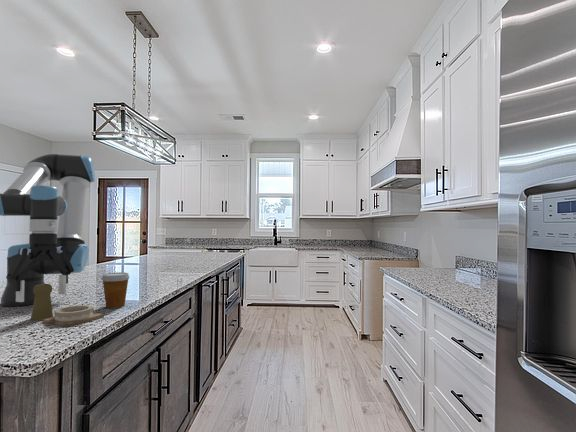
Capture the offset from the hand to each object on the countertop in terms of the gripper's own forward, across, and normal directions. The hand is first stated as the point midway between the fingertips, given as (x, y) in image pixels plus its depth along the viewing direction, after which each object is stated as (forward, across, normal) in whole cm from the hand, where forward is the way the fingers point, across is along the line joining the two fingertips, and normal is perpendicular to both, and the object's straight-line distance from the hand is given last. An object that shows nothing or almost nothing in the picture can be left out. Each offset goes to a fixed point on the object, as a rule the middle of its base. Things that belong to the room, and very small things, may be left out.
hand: (42, 297), depth 114 cm
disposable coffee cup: (+7, +21, -9) cm, 24 cm away
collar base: (+7, +2, -12) cm, 14 cm away
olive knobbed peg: (+7, 0, 0) cm, 7 cm away
